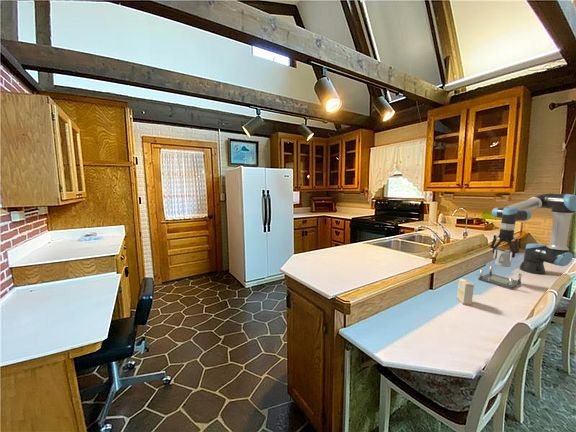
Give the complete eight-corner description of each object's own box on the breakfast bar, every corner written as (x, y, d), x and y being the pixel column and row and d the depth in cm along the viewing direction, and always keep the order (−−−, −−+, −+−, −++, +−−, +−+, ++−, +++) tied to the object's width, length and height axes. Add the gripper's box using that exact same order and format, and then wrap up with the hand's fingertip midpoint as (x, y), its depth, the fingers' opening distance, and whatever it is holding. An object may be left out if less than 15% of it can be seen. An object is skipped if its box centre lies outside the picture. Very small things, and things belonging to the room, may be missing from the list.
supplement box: (471, 305, 144) (474, 284, 142) (462, 304, 145) (465, 283, 143) (464, 298, 152) (467, 279, 150) (456, 298, 153) (458, 278, 151)
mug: (498, 262, 184) (500, 248, 182) (512, 265, 177) (514, 251, 175) (490, 264, 178) (492, 250, 176) (505, 268, 171) (507, 253, 169)
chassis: (489, 274, 192) (490, 265, 191) (521, 283, 176) (522, 274, 175) (478, 279, 182) (479, 270, 181) (510, 289, 166) (512, 279, 165)
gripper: (486, 227, 180) (482, 256, 184) (525, 232, 162) (519, 265, 166) (491, 226, 184) (487, 254, 188) (529, 231, 166) (523, 263, 170)
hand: (502, 259), depth 177 cm, fingers closed on mug, 8 cm apart
